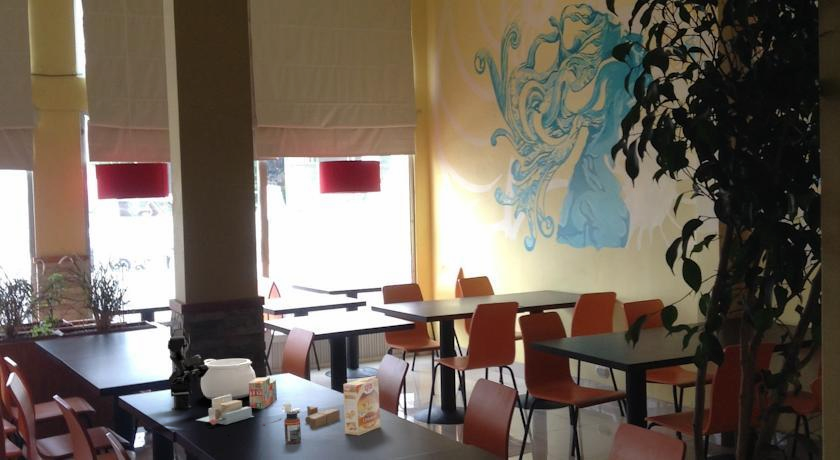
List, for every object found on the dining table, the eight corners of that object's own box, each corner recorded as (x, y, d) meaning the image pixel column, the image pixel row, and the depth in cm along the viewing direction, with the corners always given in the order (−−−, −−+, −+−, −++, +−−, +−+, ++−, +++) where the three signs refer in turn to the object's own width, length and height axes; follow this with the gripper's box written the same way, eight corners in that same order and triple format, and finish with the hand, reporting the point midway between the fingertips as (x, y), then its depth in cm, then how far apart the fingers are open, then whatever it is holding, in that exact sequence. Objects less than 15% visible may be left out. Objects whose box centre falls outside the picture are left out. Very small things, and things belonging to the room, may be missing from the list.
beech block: (220, 420, 362) (219, 404, 362) (236, 416, 369) (235, 400, 369) (226, 421, 360) (225, 405, 360) (242, 417, 367) (241, 400, 367)
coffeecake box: (359, 435, 330) (356, 385, 330) (344, 433, 334) (342, 384, 334) (381, 426, 343) (379, 378, 343) (366, 425, 347) (364, 377, 347)
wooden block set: (341, 406, 361) (315, 416, 345) (341, 420, 361) (315, 430, 345) (308, 403, 369) (282, 412, 353) (309, 416, 369) (282, 426, 353)
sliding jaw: (209, 420, 362) (208, 399, 362) (233, 413, 374) (233, 393, 374) (215, 421, 360) (214, 400, 360) (240, 414, 371) (239, 394, 371)
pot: (269, 392, 424) (268, 358, 423) (231, 403, 401) (229, 367, 401) (227, 388, 439) (225, 355, 439) (187, 399, 417) (186, 363, 417)
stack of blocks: (264, 399, 408) (263, 373, 408) (277, 399, 407) (275, 373, 407) (249, 409, 387) (248, 382, 387) (263, 409, 386) (261, 382, 386)
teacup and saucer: (302, 411, 379) (302, 402, 379) (292, 416, 371) (291, 406, 371) (285, 410, 382) (285, 401, 382) (275, 414, 375) (275, 405, 375)
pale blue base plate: (184, 425, 361) (183, 413, 361) (224, 414, 379) (223, 403, 379) (214, 430, 350) (214, 417, 350) (254, 418, 368) (253, 406, 368)
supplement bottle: (285, 440, 328) (284, 411, 327) (301, 439, 328) (300, 410, 328) (284, 444, 322) (283, 414, 322) (300, 443, 322) (299, 413, 322)
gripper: (171, 353, 371) (190, 380, 365) (204, 346, 387) (223, 372, 381) (160, 370, 376) (178, 397, 370) (193, 363, 391) (211, 389, 385)
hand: (198, 388), depth 376 cm, fingers closed
